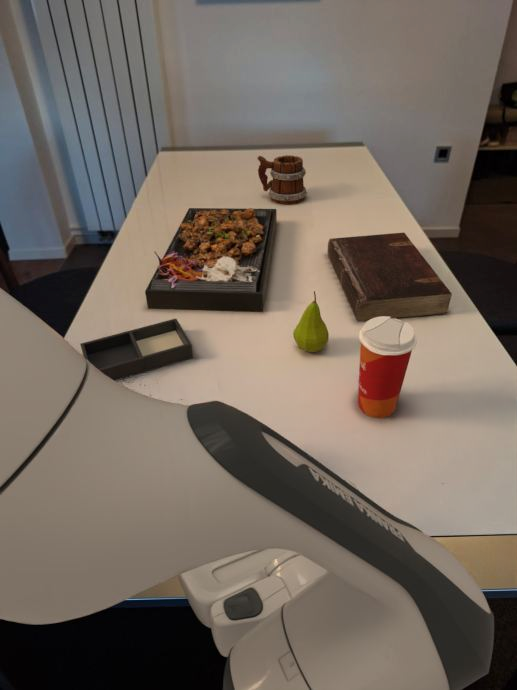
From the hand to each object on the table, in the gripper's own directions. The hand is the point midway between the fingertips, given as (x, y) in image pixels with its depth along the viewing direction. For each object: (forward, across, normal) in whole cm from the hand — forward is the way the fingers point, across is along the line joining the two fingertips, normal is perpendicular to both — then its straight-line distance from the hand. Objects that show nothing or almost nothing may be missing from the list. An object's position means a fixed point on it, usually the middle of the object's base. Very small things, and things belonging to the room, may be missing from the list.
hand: (248, 484), depth 55 cm
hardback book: (+46, -51, +12) cm, 70 cm away
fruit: (+32, -25, +12) cm, 42 cm away
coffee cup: (+14, -28, +12) cm, 33 cm away
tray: (+43, +5, +11) cm, 45 cm away
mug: (+103, -54, +11) cm, 117 cm away
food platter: (+73, -22, +11) cm, 77 cm away
